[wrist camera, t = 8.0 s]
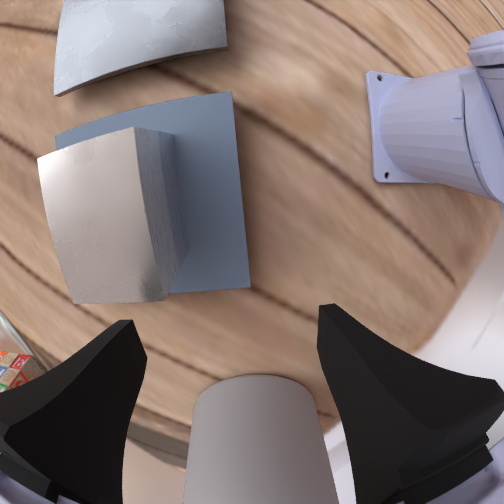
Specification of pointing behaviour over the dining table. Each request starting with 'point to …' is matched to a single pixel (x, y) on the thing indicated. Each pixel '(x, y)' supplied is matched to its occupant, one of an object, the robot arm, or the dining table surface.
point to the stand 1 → (132, 36)
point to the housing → (116, 216)
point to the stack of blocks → (17, 370)
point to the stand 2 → (196, 183)
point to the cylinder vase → (257, 445)
